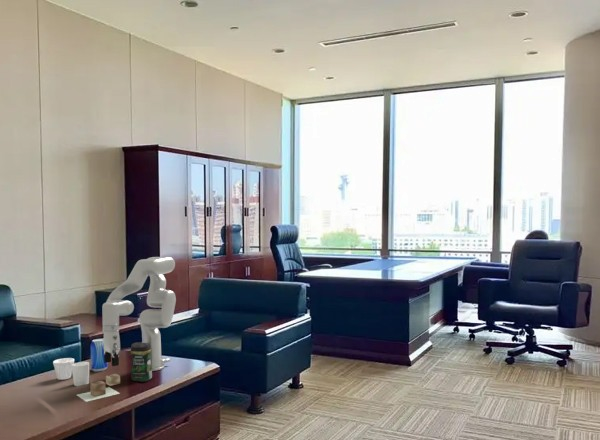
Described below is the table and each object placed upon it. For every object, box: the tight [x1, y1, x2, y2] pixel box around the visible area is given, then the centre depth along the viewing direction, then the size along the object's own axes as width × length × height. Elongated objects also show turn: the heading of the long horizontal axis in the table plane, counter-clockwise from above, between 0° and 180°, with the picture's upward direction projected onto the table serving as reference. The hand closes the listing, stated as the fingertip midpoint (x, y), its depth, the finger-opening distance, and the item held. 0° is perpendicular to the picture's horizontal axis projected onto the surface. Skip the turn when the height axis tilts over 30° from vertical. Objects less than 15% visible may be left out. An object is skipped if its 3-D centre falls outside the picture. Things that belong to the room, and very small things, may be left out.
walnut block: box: [89, 380, 107, 397], centre depth 235 cm, size 5×5×5 cm
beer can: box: [89, 338, 109, 372], centre depth 281 cm, size 8×8×16 cm
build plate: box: [76, 386, 121, 403], centre depth 235 cm, size 15×13×1 cm
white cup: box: [72, 361, 90, 387], centre depth 256 cm, size 8×8×10 cm
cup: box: [52, 357, 75, 381], centre depth 267 cm, size 10×10×9 cm
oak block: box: [105, 373, 121, 387], centre depth 251 cm, size 5×5×5 cm
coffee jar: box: [130, 341, 153, 383], centre depth 259 cm, size 10×8×19 cm
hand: (111, 364), depth 250 cm, fingers open, 9 cm apart
